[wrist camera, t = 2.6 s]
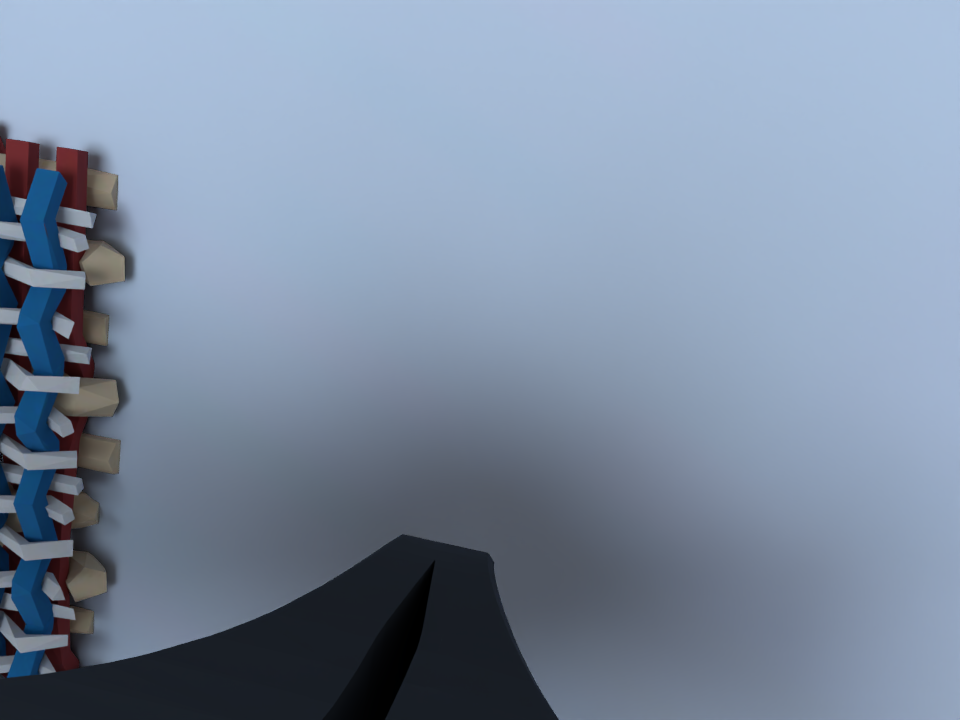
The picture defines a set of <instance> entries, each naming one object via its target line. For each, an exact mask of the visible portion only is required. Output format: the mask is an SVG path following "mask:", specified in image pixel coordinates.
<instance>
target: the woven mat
mask: <svg viewBox="0 0 960 720" xmlns="http://www.w3.org/2000/svg"><path fill="white" fill-rule="evenodd" d="M39 146H40V144H37V143H31V142H26V141H20V140H12V139H6V149H5V147H4V144H3V142H2V140H1V137H0V452H1V453H2V454H3V463H2V462H0V678H10V677H19V676H29V675H39V674H46V673H53V672H59V671H66V670H72V669H77V668H79V660H78V659H77V658H76V656H75V655H74V654H73V653H72V651H71V650H70V633H82V634H93V622H94V611H91V610H87V609H83V608H80V607H76V606H72V605H70V597H69V591H70V593H71V595H72V597H73V599H74V601H75V602H78V601H81V600H84V599H87V598H90V597H93V596H96V595H99V594H103V593H106V592H107V576H106V571H105V568H104V566H103V565H102V564H101V563H100V562H99V561H98V560H97V559H96V558H95V557H94V556H93V555H92V554H90V553H88V552H84V551H74V550H73V540H70V535H71V529H74V528H84V527H87V526H91V525H94V524H98V518H99V503H98V502H96V501H95V500H93V499H92V498H90V497H89V496H88V495H87V494H86V493H84V492H81V491H82V490H83V488H84V487H83V482H82V478H77V477H76V474H77V467H81V468H86V469H91V470H96V471H101V472H106V473H111V474H118V473H119V461H120V443H121V440H116V439H111V438H106V437H101V436H96V435H91V434H86V433H82V432H83V429H84V427H85V424H86V422H87V419H88V417H112V416H113V414H114V412H115V410H116V408H117V406H118V404H119V398H118V392H117V385H116V380H112V379H102V378H93V376H94V361H93V358H92V356H91V351H92V348H90V347H88V346H87V344H86V343H92V344H97V345H103V346H107V345H108V329H109V315H106V314H102V313H97V312H92V311H88V310H83V305H84V290H85V281H86V282H87V283H88V284H89V285H90V286H95V285H101V284H108V283H114V282H121V281H125V257H124V256H123V255H122V254H120V253H119V252H118V251H117V250H115V249H114V248H113V247H112V246H110V245H109V244H108V243H106V242H104V241H103V240H88V239H86V227H88V228H93V225H94V222H95V218H96V215H97V214H94V213H90V212H86V206H92V207H98V208H105V209H111V210H117V191H118V175H115V174H111V173H106V172H102V171H98V170H93V169H89V168H88V152H87V151H81V150H75V149H69V148H62V147H57V154H56V161H52V160H46V159H39Z"/></svg>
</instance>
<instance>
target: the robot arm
mask: <svg viewBox="0 0 960 720" xmlns="http://www.w3.org/2000/svg"><path fill="white" fill-rule="evenodd" d="M0 720H558V718H557V716H556V715H555V713H554V712H553V710H552V709H551V707H550V705H549V704H548V702H547V701H546V699H545V698H544V696H543V694H542V693H541V691H540V689H539V687H538V686H537V684H536V682H535V680H534V678H533V676H532V674H531V673H530V671H529V669H528V666H527V664H526V662H525V660H524V658H523V656H522V654H521V652H520V650H519V648H518V645H517V643H516V641H515V638H514V636H513V633H512V631H511V628H510V625H509V623H508V620H507V618H506V615H505V612H504V609H503V606H502V603H501V600H500V596H499V592H498V589H497V585H496V580H495V574H494V562H493V560H492V558H491V557H490V555H489V554H488V553H486V552H481V551H477V550H472V549H467V548H463V547H458V546H454V545H449V544H445V543H440V542H435V541H431V540H426V539H422V538H417V537H413V536H408V535H404V534H402V535H401V536H399V537H397V538H396V539H394V540H393V541H391V542H389V543H388V544H386V545H385V546H383V547H382V548H380V549H379V550H377V551H376V552H374V553H373V554H371V555H370V556H369V557H367V558H366V559H364V560H362V561H361V562H359V563H358V564H356V565H355V566H353V567H352V568H350V569H349V570H347V571H345V572H344V573H342V574H341V575H339V576H337V577H336V578H334V579H333V580H331V581H329V582H328V583H326V584H324V585H323V586H321V587H319V588H317V589H315V590H313V591H311V592H309V593H308V594H306V595H304V596H302V597H300V598H298V599H296V600H294V601H293V602H291V603H289V604H287V605H285V606H283V607H281V608H279V609H277V610H274V611H272V612H270V613H268V614H266V615H263V616H261V617H259V618H256V619H254V620H251V621H249V622H246V623H244V624H241V625H239V626H236V627H233V628H231V629H228V630H226V631H223V632H220V633H217V634H214V635H211V636H208V637H205V638H201V639H198V640H195V641H191V642H188V643H184V644H181V645H177V646H174V647H170V648H167V649H164V650H160V651H157V652H153V653H150V654H146V655H142V656H138V657H133V658H128V659H124V660H119V661H115V662H110V663H105V664H100V665H94V666H89V667H83V668H77V669H72V670H66V671H59V672H53V673H46V674H39V675H29V676H19V677H10V678H0Z"/></svg>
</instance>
